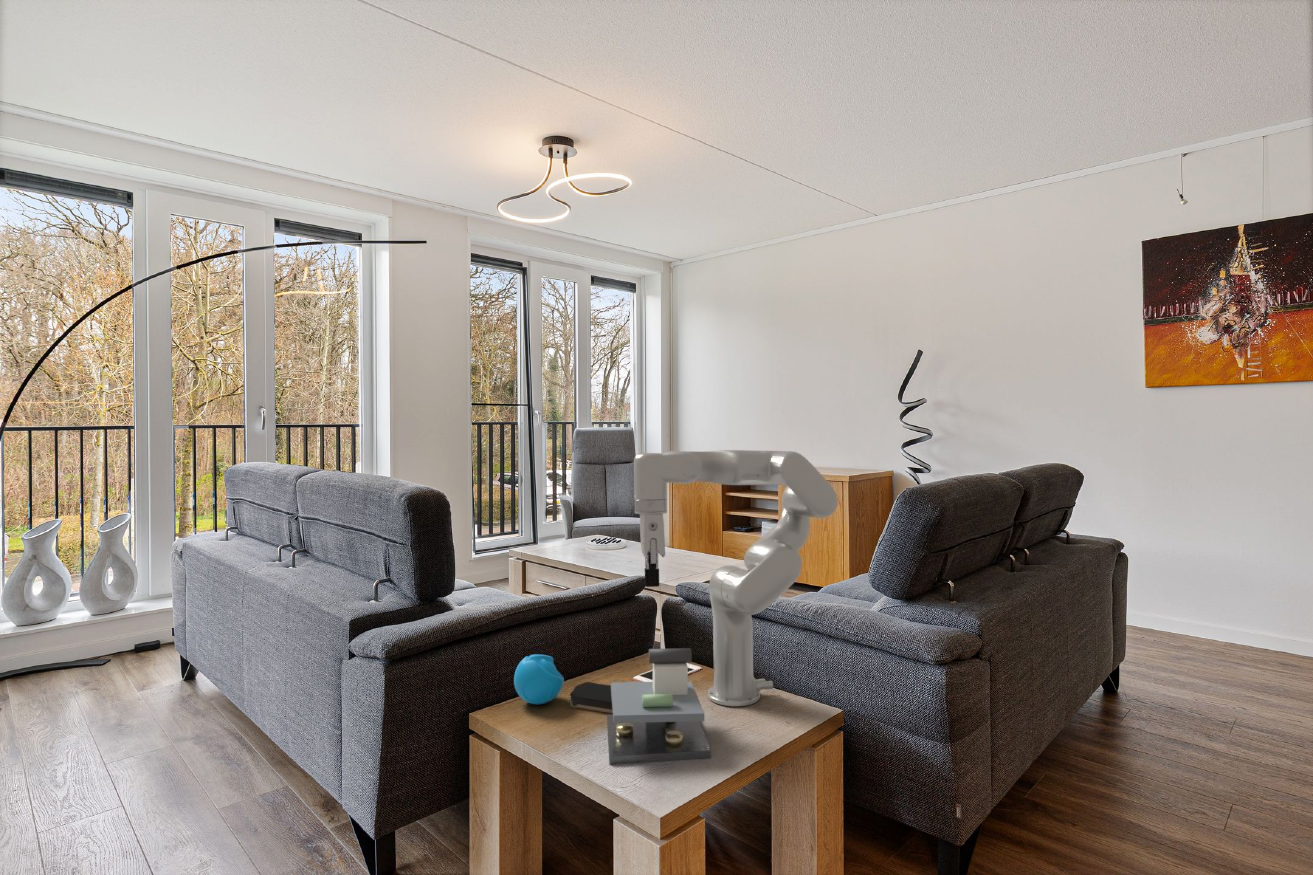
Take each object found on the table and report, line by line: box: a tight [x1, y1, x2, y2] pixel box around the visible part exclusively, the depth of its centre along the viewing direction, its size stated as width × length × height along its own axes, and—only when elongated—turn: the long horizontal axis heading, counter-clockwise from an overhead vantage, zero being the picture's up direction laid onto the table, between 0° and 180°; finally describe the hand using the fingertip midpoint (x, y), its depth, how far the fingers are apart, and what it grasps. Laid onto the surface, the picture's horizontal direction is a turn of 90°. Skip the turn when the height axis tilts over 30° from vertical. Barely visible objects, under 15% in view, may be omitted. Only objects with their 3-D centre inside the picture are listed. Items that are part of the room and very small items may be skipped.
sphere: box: [513, 654, 565, 705], centre depth 164 cm, size 12×11×12 cm
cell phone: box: [633, 663, 702, 682], centre depth 182 cm, size 9×18×1 cm, turn 136°
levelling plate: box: [610, 647, 705, 723], centre depth 143 cm, size 18×18×12 cm
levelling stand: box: [606, 713, 712, 765], centre depth 143 cm, size 20×20×5 cm
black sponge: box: [569, 681, 613, 715], centre depth 162 cm, size 16×8×4 cm, turn 66°
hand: (652, 585), depth 157 cm, fingers closed
